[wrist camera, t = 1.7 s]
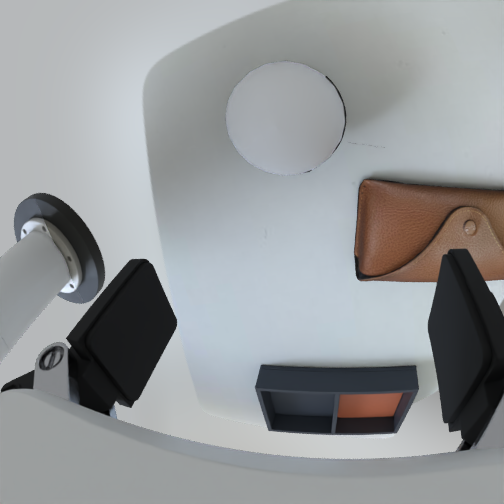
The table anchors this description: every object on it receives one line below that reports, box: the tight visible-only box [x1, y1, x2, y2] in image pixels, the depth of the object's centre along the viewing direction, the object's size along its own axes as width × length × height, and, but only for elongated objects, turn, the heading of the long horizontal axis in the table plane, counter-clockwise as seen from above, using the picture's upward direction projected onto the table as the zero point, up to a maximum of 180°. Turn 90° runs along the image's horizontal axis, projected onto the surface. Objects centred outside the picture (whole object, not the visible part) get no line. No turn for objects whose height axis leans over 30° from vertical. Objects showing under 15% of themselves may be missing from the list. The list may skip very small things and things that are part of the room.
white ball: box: [225, 61, 385, 176], centre depth 18 cm, size 10×7×7 cm
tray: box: [255, 365, 419, 435], centre depth 37 cm, size 20×13×4 cm, turn 100°
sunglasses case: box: [354, 179, 504, 282], centre depth 21 cm, size 18×7×7 cm, turn 100°
